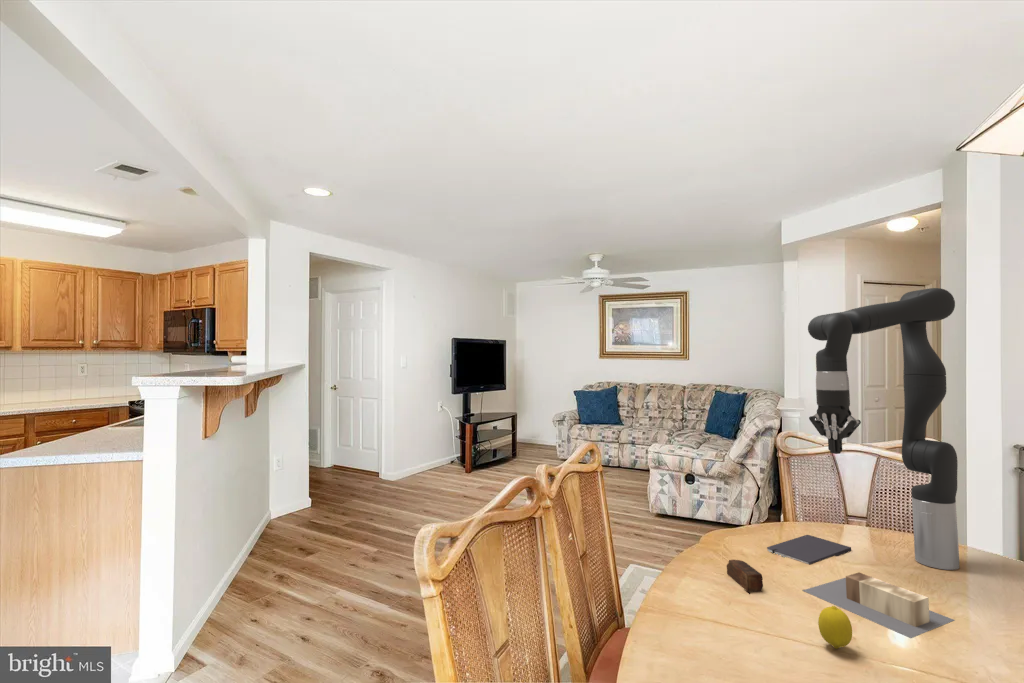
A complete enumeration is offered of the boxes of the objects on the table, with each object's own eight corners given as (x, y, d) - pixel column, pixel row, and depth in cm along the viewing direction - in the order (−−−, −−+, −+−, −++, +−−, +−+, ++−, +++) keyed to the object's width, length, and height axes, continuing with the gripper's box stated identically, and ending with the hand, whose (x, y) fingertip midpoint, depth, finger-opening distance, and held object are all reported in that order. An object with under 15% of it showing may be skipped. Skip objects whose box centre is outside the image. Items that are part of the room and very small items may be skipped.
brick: (763, 594, 119) (763, 574, 119) (747, 594, 119) (747, 574, 119) (741, 575, 130) (740, 557, 130) (726, 576, 129) (725, 557, 130)
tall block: (859, 572, 117) (928, 597, 104) (860, 593, 117) (929, 621, 104) (845, 576, 115) (914, 602, 102) (846, 598, 115) (915, 627, 102)
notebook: (809, 568, 134) (851, 552, 144) (809, 562, 134) (851, 547, 144) (765, 552, 145) (807, 539, 156) (765, 547, 145) (807, 534, 156)
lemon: (812, 641, 98) (810, 600, 99) (838, 639, 99) (836, 598, 99) (833, 657, 93) (831, 614, 93) (860, 655, 93) (858, 612, 94)
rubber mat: (844, 579, 126) (844, 577, 126) (955, 621, 105) (955, 620, 105) (802, 592, 119) (802, 590, 119) (910, 640, 98) (910, 638, 98)
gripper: (867, 388, 128) (870, 456, 127) (817, 386, 140) (820, 448, 139) (848, 389, 125) (852, 458, 124) (799, 387, 137) (802, 450, 136)
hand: (835, 453), depth 132 cm, fingers closed
